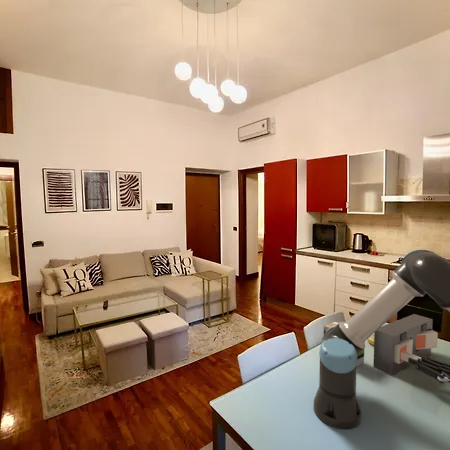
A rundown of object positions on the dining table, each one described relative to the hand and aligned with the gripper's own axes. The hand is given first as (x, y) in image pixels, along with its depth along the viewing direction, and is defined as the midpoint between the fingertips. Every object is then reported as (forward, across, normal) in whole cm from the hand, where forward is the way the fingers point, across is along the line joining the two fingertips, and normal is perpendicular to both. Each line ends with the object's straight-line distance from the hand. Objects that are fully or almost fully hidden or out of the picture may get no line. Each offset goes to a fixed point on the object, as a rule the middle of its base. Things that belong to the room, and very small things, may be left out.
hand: (402, 355), depth 118 cm
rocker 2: (+2, +22, -3) cm, 22 cm away
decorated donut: (+21, +19, -9) cm, 30 cm away
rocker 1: (+2, +4, -3) cm, 6 cm away
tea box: (+21, -10, -9) cm, 25 cm away
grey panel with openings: (+6, +13, -9) cm, 17 cm away
